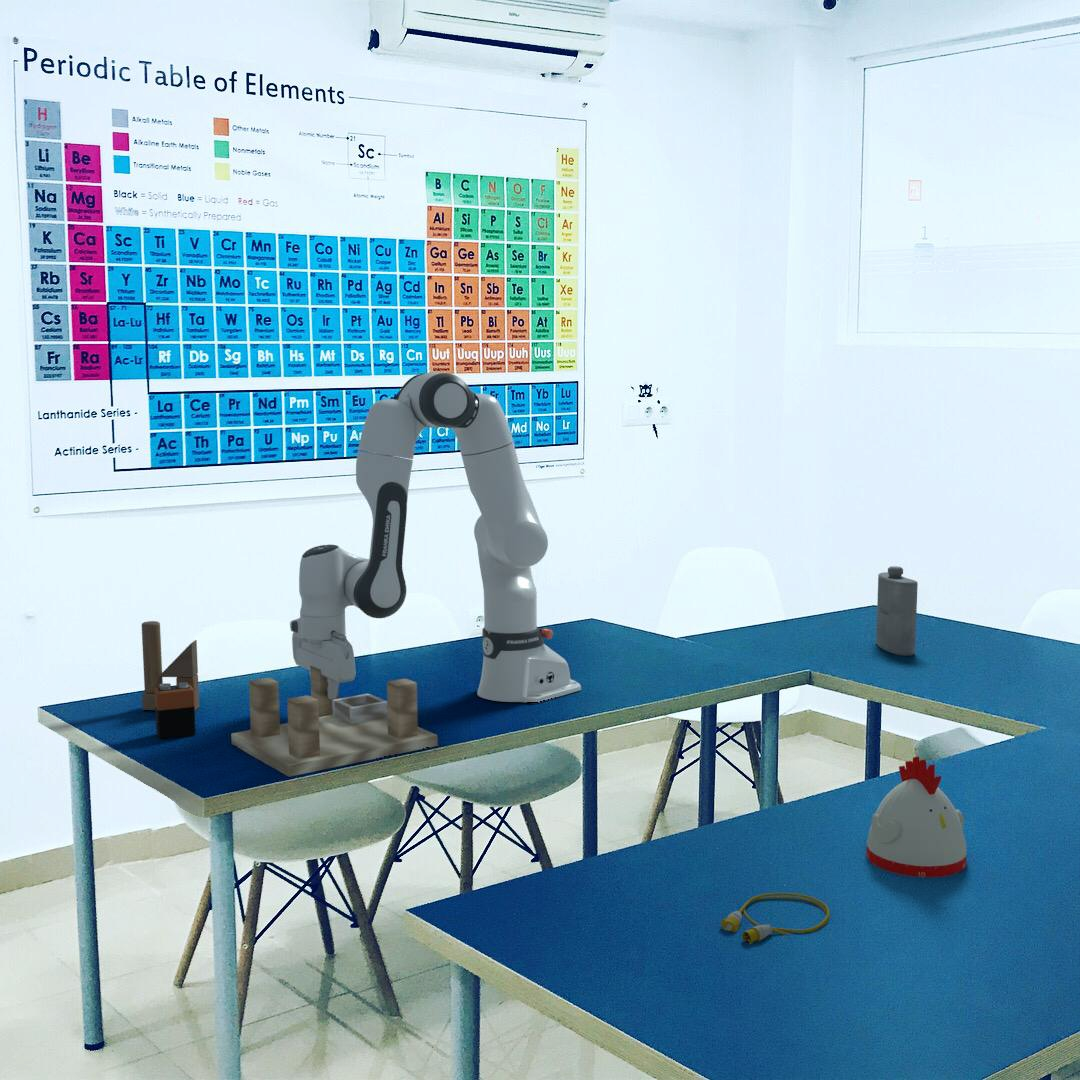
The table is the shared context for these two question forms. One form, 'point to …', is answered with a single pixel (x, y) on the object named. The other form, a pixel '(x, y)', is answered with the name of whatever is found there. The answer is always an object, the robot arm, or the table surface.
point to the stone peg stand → (331, 728)
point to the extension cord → (764, 930)
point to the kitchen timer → (917, 827)
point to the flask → (896, 612)
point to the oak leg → (321, 692)
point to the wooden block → (180, 667)
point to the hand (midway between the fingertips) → (324, 695)
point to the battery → (175, 710)
